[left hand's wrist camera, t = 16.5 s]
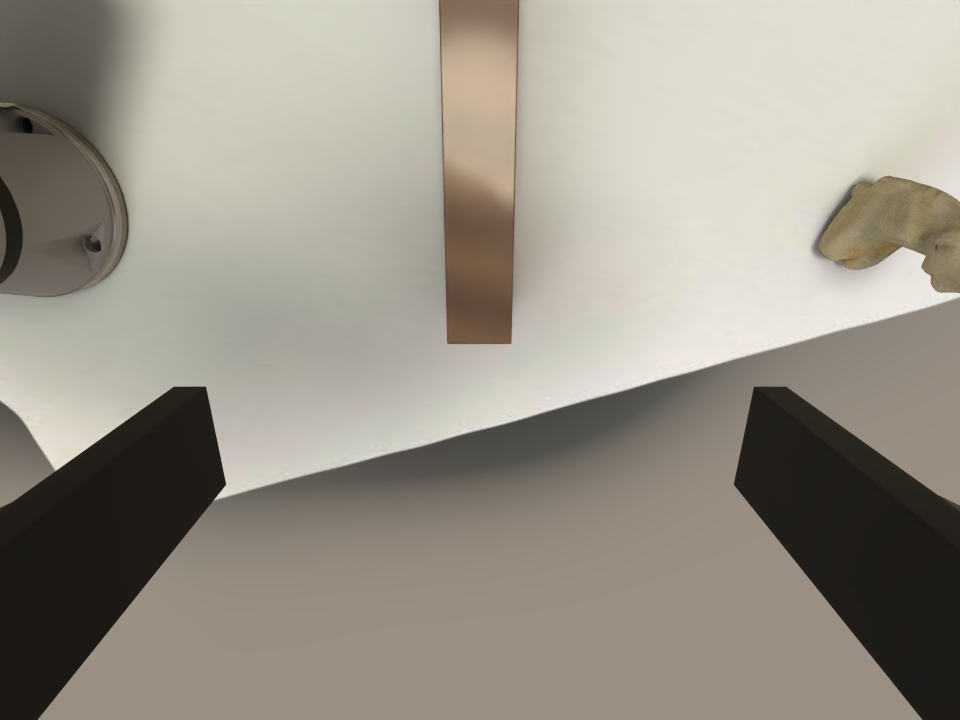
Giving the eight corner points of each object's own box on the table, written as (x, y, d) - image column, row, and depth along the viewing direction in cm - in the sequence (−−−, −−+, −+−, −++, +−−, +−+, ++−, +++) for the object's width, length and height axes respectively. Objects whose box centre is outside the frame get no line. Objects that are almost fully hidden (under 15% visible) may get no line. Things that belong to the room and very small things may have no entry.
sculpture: (798, 248, 45) (944, 285, 31) (849, 167, 42) (1032, 166, 28) (853, 273, 46) (1020, 320, 32) (906, 195, 43) (1111, 208, 29)
